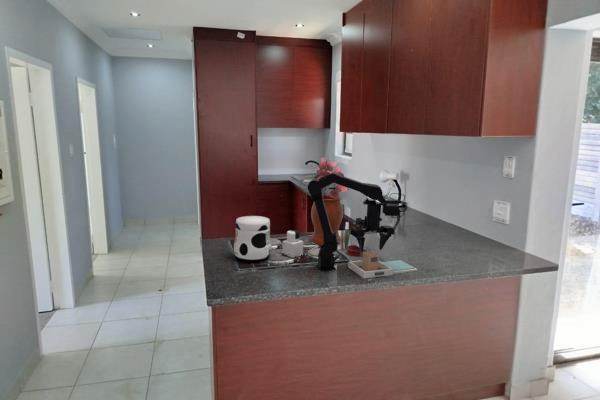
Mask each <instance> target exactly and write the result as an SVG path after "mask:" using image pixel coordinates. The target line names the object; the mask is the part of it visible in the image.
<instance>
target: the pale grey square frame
mask: <svg viewBox="0 0 600 400" xmlns="http://www.w3.org/2000/svg"><path fill="white" fill-rule="evenodd" d="M382 262H383V261H380V260H379V267H378V270H374V271H364V270H362V263H363V259H362V260H359V259H358V260H352V261H348V262H347V268H349V269H350V270H352V271H353V272H354V273H355V274H357V275H358V276H360V277H361V278H363V279H369V278H370V279H371V278H377V277H378V278H380V277H387V276H393V275H394V274H393V269H392V268H391V267H389V266H387V265H385V264H384V263H382Z"/></svg>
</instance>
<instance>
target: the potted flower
mask: <svg viewBox="0 0 600 400" xmlns="http://www.w3.org/2000/svg"><path fill="white" fill-rule="evenodd" d="M337 165H338V163H337V160H333V161H332V160H331V161H328V160H327V159H326V157H325V156H322V157H321V158H320V162H319V167H318V168H317V170H316V175H314V177H313V179H320V178H322V177H324V176H327V175H329V174H330V173H333V172H334V173H336V174H338V175H341V176H344V177H345V175H344V173H342V172H341V170H342V167H341V166H337ZM335 166H337V167H336V168H335V169H334V167H335ZM332 184H333V187H329V186H332ZM332 184H330V185H328V186H326V187H327V189H328V190H330V191H329V194H323V200H324V204H325V207H326V211H327V214H328V218H329V222H330V225H331V229H332V231H333V232H334V233H335V232H337V237H338V239H339V244H338V246H340V245H341V242H342V240H341V239H342V237H341V235H340V233H339V230H340V227H341V223H342V220H343V215H344V209H343V205H342V200H343V197H342V196H340V193H345V192H347V191H349V190H350V188H347V187H344V186H341V185H339V184H336V183H332ZM326 187H324V190H326ZM310 215H311V217H310V218H311V222H312V225H313V230H314V231H313V233H312V234H311V236H310V242H311V241H312V242H313V243H315V244H318V245H323V244H324V241H323V231H322V227H321V223H320V220H319V216H318V213H317V209H316V205H315V202H314V201H313V204H312V207H311V212H310ZM315 244H314V245H315ZM318 245H317V246H318Z"/></svg>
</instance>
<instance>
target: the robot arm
mask: <svg viewBox="0 0 600 400" xmlns="http://www.w3.org/2000/svg"><path fill="white" fill-rule="evenodd" d="M332 172H333V173H330V174H329V175H327V176H324V177H322V178H320V179H314V178H311V180H310V181H309V182H308V184H307V191H308V193H309V195H310V197H311V199H312V200H313V203H314V202H315V205H316V209H317V213H318V216H319V220H320V223H321V227H322V231H323V241H324V244H323V245H321V246H320V247H319V251H318V253H317V264H315V266H316V267H317V268H318V269H319V270H320V271H331V270H336V267H335V262H336V258H335V254H334V253H335V252H337V250H338V248H339V247H338V246H339V245H340V244H339V239H338V237H337V232H335V233H334V232H333V231H332V229H331V225H330V222H329V218H328V214H327V211H326V207H325V204H324V200H323V195H324V189H325V187H329V186H331V185H330V184H334V183H335V185H336V184H339V185H341V186H344V187H347V188H348V189H349V190H350V189H351V190H354V191H356V192H359V193H360V194H362V195H364V196H366V199H365V200H363V202H362V203H363V205H366V215H365V216H364V219H362V217H356V218H355V226H356V227H351V228H350V230H349V234H350V236H351V235H352V236H353V237H354V238H355V240H356V241H357V242H358V243H359V247H360V250H361V252H363V248H364V246H365V240H366V237H365V235H366V234H369V235H370V234H379V245H378V246H379V248H378V249H379V250H380V251H382V249H383V248H384V246H385V245H386V243H387V241H388V240H389V239H390V238H392V237H393V236H394V235H395V228H394V227H393V226H390V225H385V224H384V225H381V222H382V221H383V218H381V215H382V214H384V216H385V217H386V216H387V217H399V216H400V200H399V199H393V200H392V199H386V197H385V196H384V193H383V190H382V188H381V186H380V185H378V184H374V183H368V182H367V183H365V182H361V181H360V180H359V181H358V180H355V179H353V178H349V177H347V176H345V175H344V176H341V175H338V174H336V173H334V171H332ZM328 185H329V186H328ZM377 201H378V202H377ZM381 213H382V214H381ZM357 226H359V227H357ZM338 244H339V245H338Z"/></svg>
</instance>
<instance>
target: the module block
mask: <svg viewBox="0 0 600 400" xmlns="http://www.w3.org/2000/svg"><path fill="white" fill-rule="evenodd" d="M362 260H363V263H362V266H361V269H362V270H364V271H374V270H379V261H380V254H379V253H377V252H376V251H374V250H370V251H368V250H367V252H363V257H362Z"/></svg>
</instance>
